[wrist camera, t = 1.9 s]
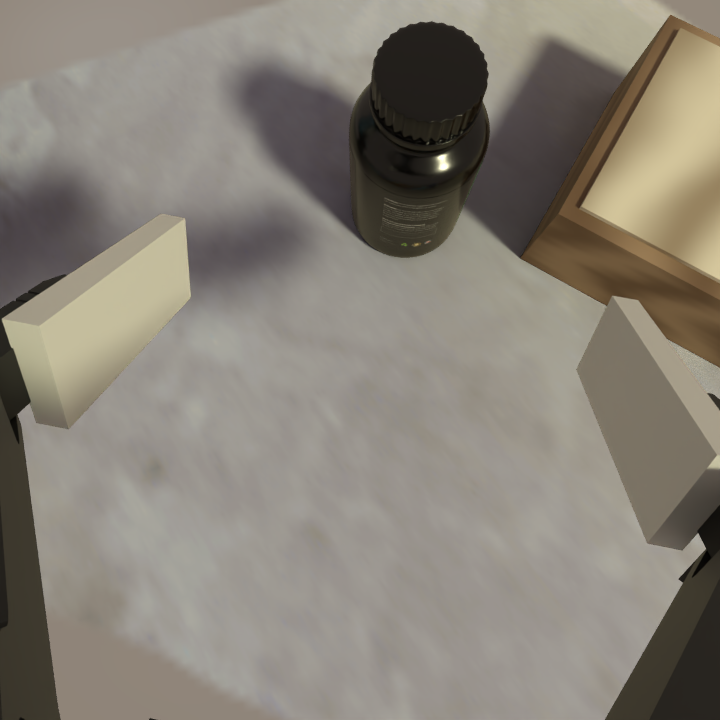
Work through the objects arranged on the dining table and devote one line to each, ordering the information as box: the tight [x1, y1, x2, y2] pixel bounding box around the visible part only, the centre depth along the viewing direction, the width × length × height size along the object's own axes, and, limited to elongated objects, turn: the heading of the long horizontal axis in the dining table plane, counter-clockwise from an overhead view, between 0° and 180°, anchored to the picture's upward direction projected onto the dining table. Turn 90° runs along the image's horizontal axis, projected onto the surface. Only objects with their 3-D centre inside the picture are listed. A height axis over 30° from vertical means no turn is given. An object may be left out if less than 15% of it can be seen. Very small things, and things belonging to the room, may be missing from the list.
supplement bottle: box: [349, 21, 490, 258], centre depth 26 cm, size 7×7×12 cm
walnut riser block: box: [521, 15, 720, 367], centre depth 28 cm, size 14×14×6 cm
